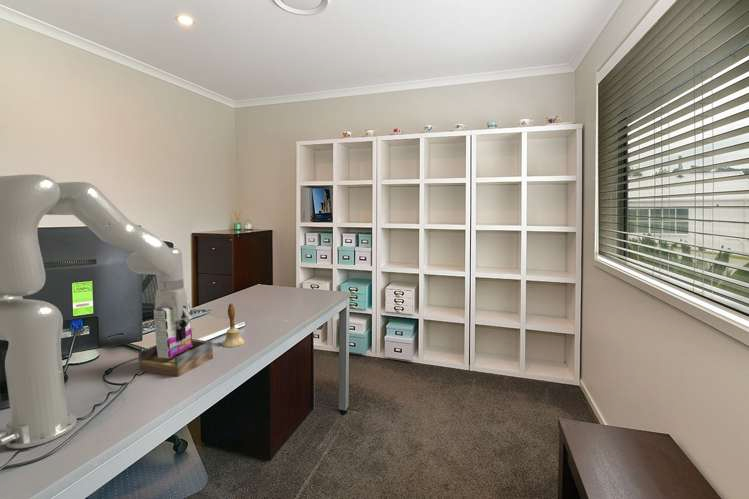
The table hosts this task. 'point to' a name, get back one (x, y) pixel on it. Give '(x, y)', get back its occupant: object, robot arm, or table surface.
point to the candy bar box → (170, 334)
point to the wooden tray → (176, 359)
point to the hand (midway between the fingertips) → (174, 338)
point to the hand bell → (232, 331)
